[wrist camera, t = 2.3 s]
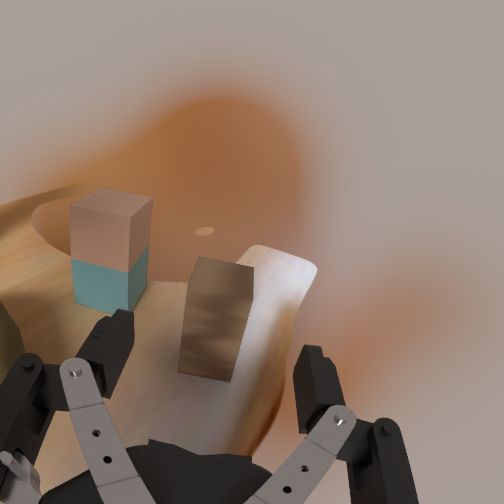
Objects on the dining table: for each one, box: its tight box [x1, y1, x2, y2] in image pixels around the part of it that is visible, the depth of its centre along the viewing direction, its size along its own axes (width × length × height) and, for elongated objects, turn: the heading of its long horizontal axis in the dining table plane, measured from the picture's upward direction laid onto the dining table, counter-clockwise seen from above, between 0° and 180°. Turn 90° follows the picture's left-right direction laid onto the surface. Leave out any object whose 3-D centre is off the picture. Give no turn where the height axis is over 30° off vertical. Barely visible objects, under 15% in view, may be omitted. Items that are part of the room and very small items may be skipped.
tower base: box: [71, 245, 149, 314], centre depth 33 cm, size 7×7×6 cm
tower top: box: [70, 188, 153, 273], centre depth 31 cm, size 7×7×6 cm
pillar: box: [178, 256, 254, 382], centre depth 27 cm, size 5×5×10 cm
